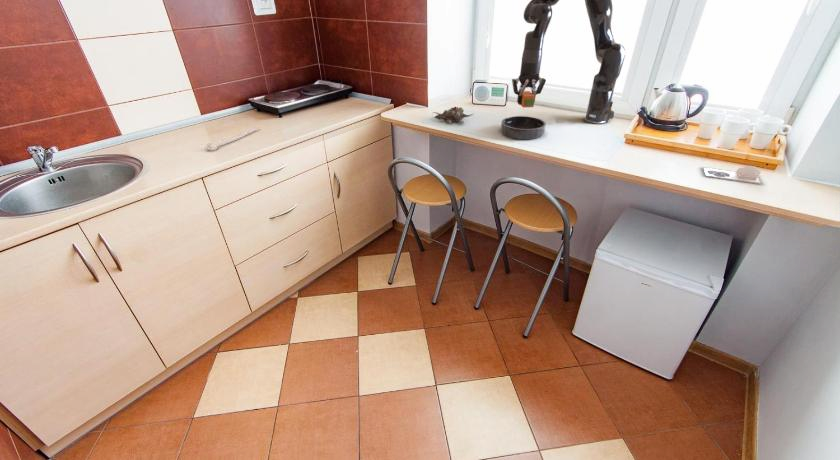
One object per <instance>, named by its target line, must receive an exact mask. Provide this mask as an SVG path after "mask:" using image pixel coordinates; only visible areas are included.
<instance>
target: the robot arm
mask: <svg viewBox="0 0 840 460" xmlns="http://www.w3.org/2000/svg"><path fill="white" fill-rule="evenodd" d="M559 2H560V0H530V1H529V2H528V3H527V4H526V6H525V8H524V12H523V20H524V21H525V23H527V24H531V25H535V27H534V29H533V30H529V31H527V32H526V33H525V36H524V37H525V38H524V45H523V51H522V56H521V65H520V71H519V72H520V73H519V76H518V77H517V78H511V84H512V90H513V94H515V95H517V100H516V103H517V104H518V105H519V106H521V102H522V94H523V92H524V91H526V89H527V88H530V90H531V91H530V92H531V93H532V94H533V95H535V97H537V95H541V93H542V91H543V89H544V86H545V84H546V82H547V79H546V78H545V77H541V76H540V74H541V73H540V72H541V64H542V59H543V48H544V47H543V46H544V41H545V35H546V33H547V31H548V28H549V26H550V24H551V21H552V17H553V8H552V7H553V6H556V5H557V4H558V3H559ZM584 5H585V8H586V13H587V17H588V21H589V24H590V28H591V32H592V36H593V43H594V52H595V58H596V60H597V62H598V63H599V64H600V67H599V70H598V72H597V73H596V74H595V75H594V77H593V80H592V85H591V90H590V95H589V99H588V104H587V108H586V113H585V118H584V121H585V122H586V123H587V122H588V123H589V124H590V123H591V124H597V125H598V124H605V123H608V122H609V120H613V119H614V117H615V111H613V110H612V107H613V103H614V100H613V95H614V91H615V87H616V83H617V79H618V78H619V77H620V75H621V71H622V68H623V64H624V60H625V58H626V49H625V47H624V46H623V45H622V44H621V43H617V42H616V41H615V39H614V35H613V32H612V19H613V17H612V16H613V10H614V9H613V0H584ZM519 83H520V84H519ZM537 83H539V84H538V85H537ZM518 84H519V85H520V86H519V88H518ZM535 102H536V99H535V100H534V103H535Z"/></svg>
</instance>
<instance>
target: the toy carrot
mask: <svg viewBox="0 0 840 460" xmlns="http://www.w3.org/2000/svg"><path fill="white" fill-rule="evenodd" d="M534 100H535V101H536V96H535V95H533V94H532V91H530V90H524V92H523V94H522V102H521V105H520V106H521V107H522V108H523V109H524V108H534V107H535V106H534V105H535V102H534Z"/></svg>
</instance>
